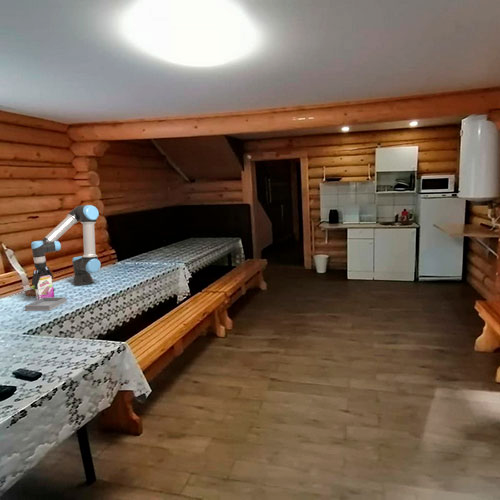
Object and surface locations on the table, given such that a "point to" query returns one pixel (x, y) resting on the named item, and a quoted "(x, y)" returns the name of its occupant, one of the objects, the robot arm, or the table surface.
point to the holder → (45, 304)
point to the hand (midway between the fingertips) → (44, 290)
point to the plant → (31, 292)
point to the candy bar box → (45, 287)
